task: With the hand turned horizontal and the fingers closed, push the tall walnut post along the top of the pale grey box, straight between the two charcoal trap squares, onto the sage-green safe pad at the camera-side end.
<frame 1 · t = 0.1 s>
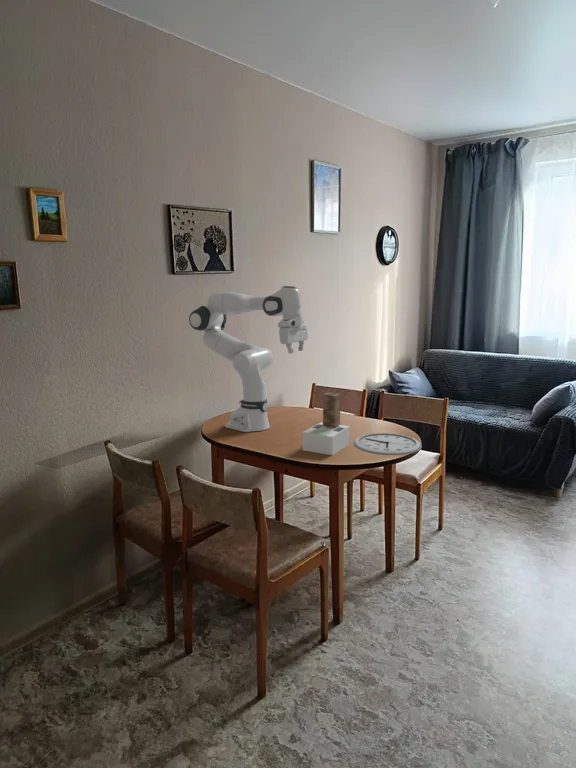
hand: (295, 352, 244), 39 cm above the table, tool pointing down, fingers open, 8 cm apart
wall clock: (387, 445, 236), on the table
walnut post: (331, 409, 234), point 15 cm above the table, slide at 0.0 cm
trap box: (326, 446, 233), on the table
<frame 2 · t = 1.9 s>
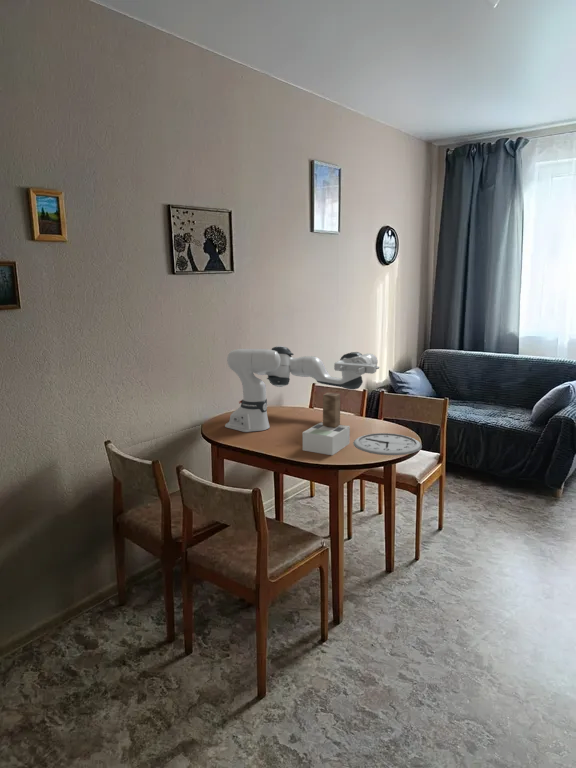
hand: (349, 370, 248), 30 cm above the table, tool horizontal, fingers open, 7 cm apart
nothing on the table moved.
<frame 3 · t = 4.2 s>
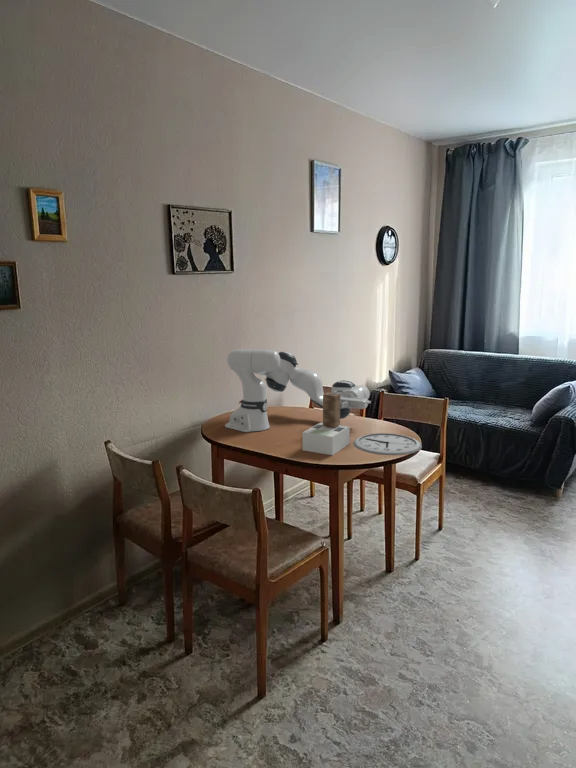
hand: (339, 405, 240), 16 cm above the table, tool horizontal, fingers closed
nothing on the table moved.
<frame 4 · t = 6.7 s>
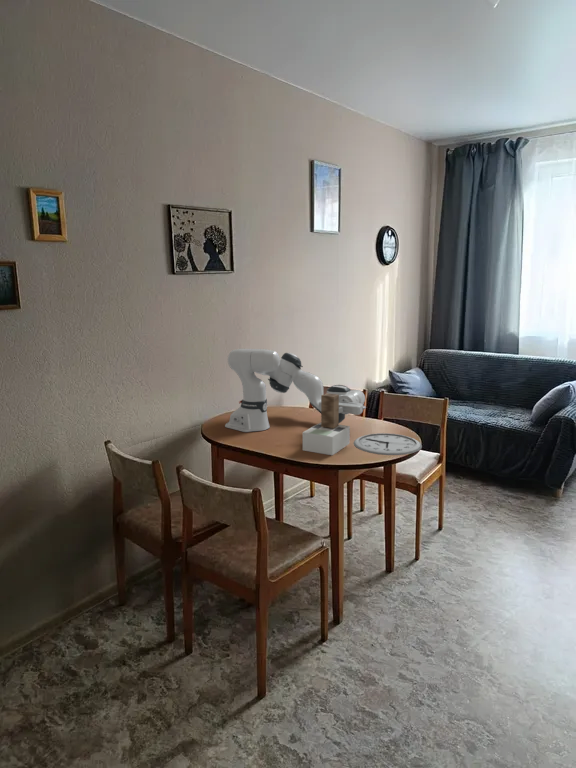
hand: (333, 410, 235), 15 cm above the table, tool horizontal, fingers closed, pressing on walnut post
walnut post: (329, 410, 233), point 15 cm above the table, slide at 1.7 cm, touching gripper
everything else where it was.
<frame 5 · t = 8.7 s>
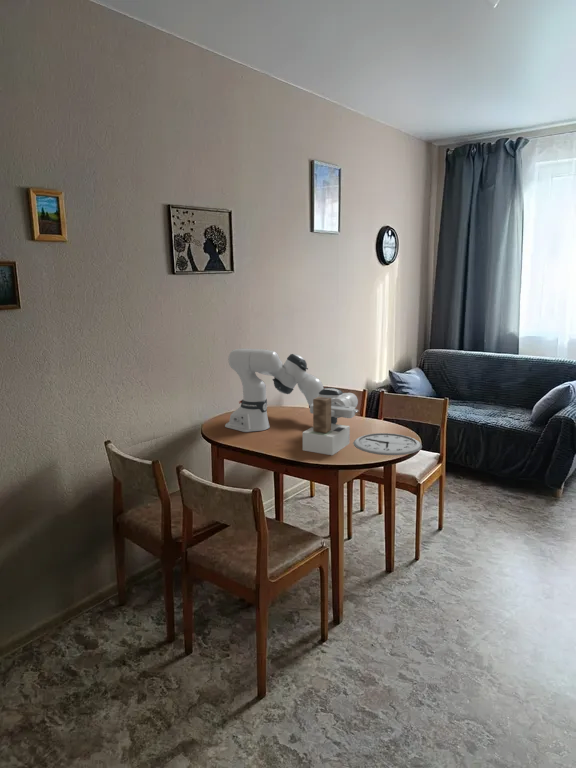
hand: (324, 414, 228), 15 cm above the table, tool horizontal, fingers closed, pressing on walnut post
walnut post: (322, 414, 226), point 15 cm above the table, slide at 9.4 cm, touching gripper
everything else where it was.
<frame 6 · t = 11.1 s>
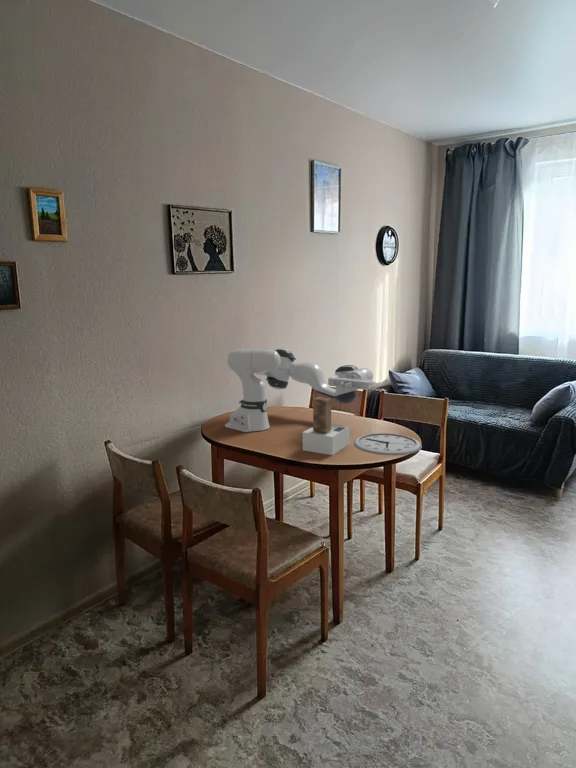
hand: (343, 385, 242), 24 cm above the table, tool horizontal, fingers closed
walnut post: (322, 414, 226), point 15 cm above the table, slide at 9.4 cm
everything else where it was.
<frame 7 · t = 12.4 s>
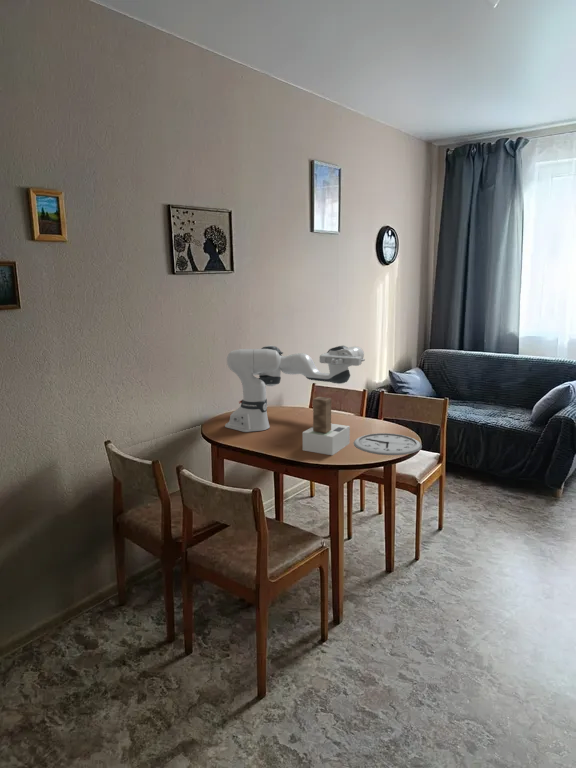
hand: (333, 362, 246), 34 cm above the table, tool horizontal, fingers closed
nothing on the table moved.
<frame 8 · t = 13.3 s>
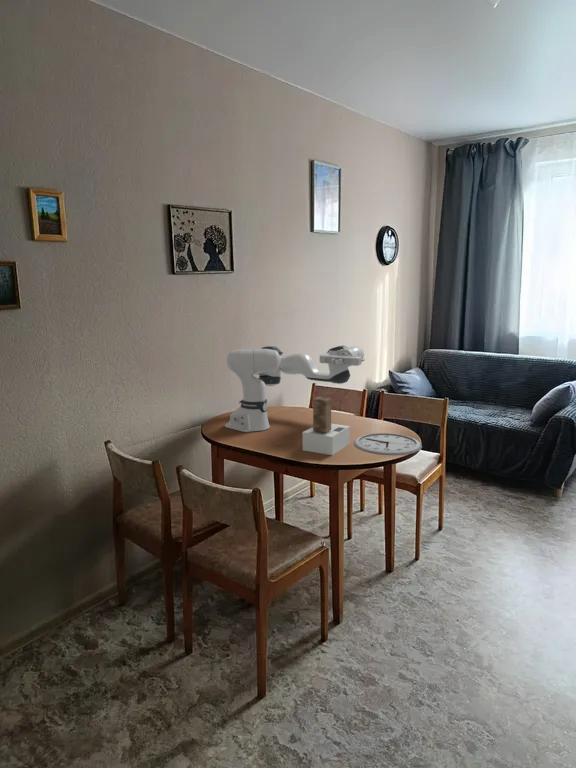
hand: (333, 362, 246), 34 cm above the table, tool horizontal, fingers closed
nothing on the table moved.
at the end: walnut post slide at 9.4 cm; walnut post 0.2 cm from the target spot, point 15.5 cm above the table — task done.
